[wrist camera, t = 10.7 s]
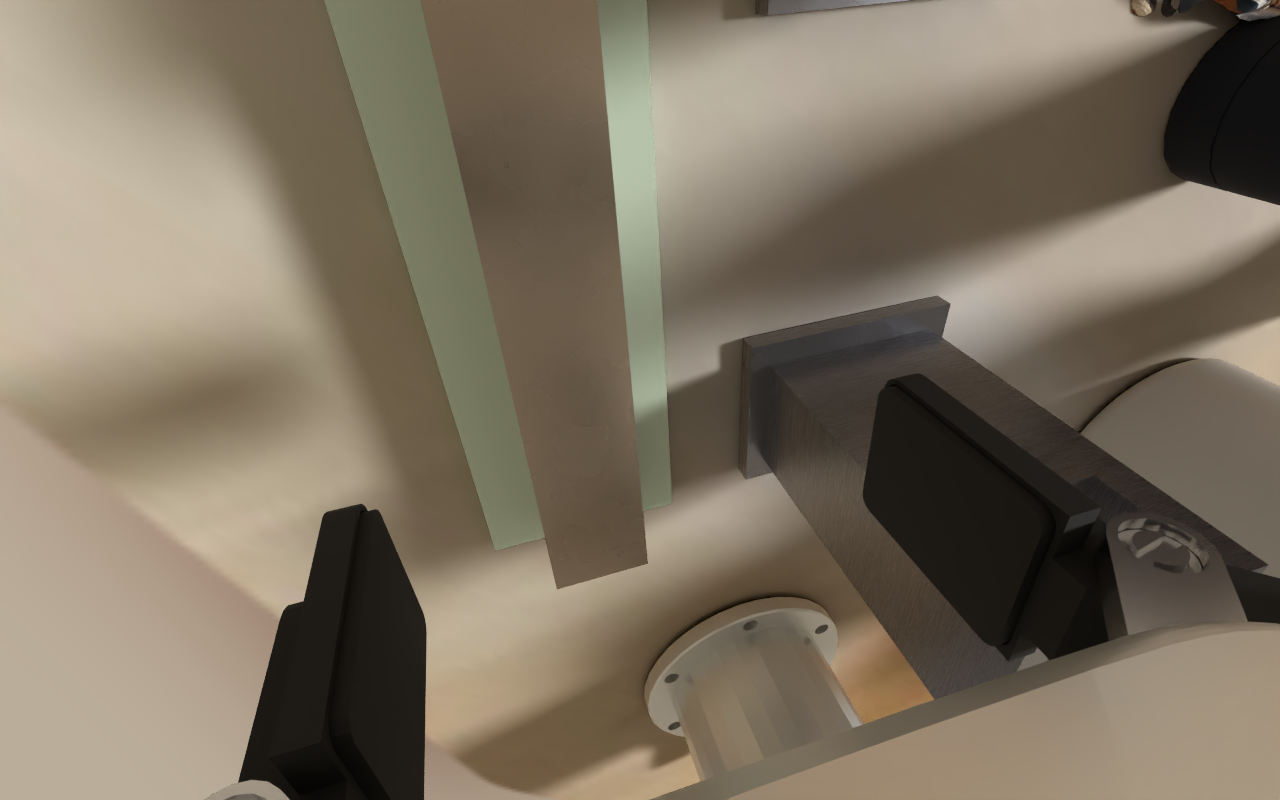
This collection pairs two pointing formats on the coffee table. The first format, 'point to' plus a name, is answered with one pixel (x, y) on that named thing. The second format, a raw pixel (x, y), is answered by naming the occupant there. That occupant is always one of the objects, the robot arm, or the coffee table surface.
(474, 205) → the rail
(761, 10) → the post
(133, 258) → the coffee table surface
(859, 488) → the post
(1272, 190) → the wine bottle
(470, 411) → the mat
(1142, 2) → the pastry
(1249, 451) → the cylinder vase
